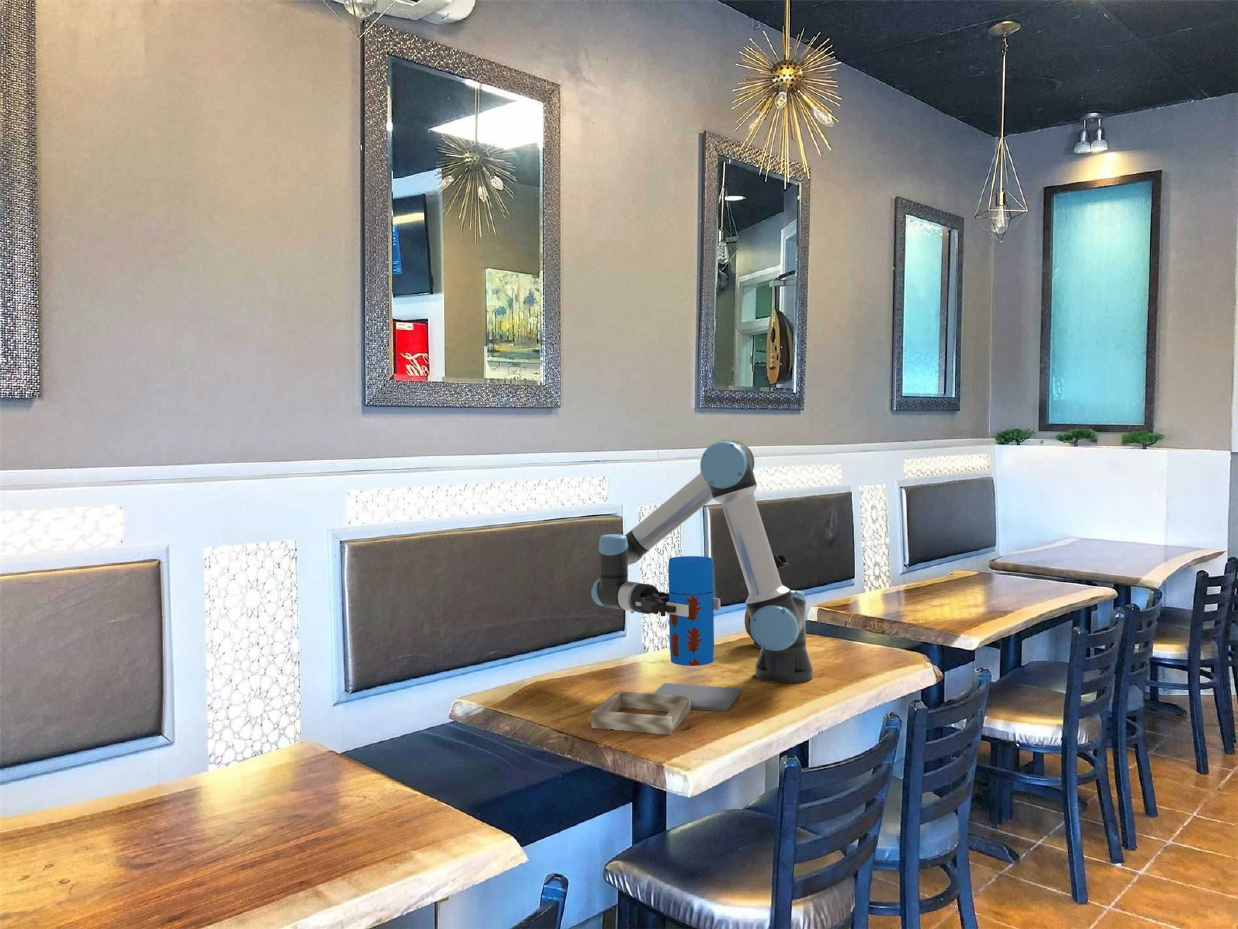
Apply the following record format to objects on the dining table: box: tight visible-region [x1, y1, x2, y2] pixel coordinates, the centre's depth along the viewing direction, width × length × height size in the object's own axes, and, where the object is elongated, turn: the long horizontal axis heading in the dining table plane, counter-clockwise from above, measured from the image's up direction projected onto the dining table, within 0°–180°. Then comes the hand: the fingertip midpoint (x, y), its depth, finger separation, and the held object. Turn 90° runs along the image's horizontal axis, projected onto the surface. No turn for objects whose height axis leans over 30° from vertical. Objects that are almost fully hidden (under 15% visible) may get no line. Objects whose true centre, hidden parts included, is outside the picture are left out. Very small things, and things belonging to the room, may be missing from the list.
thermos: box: [667, 555, 715, 667], centre depth 224 cm, size 11×11×25 cm
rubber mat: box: [652, 682, 742, 712], centre depth 225 cm, size 20×18×1 cm
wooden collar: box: [590, 690, 692, 736], centre depth 208 cm, size 18×18×4 cm
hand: (703, 607), depth 221 cm, fingers closed on thermos, 11 cm apart
